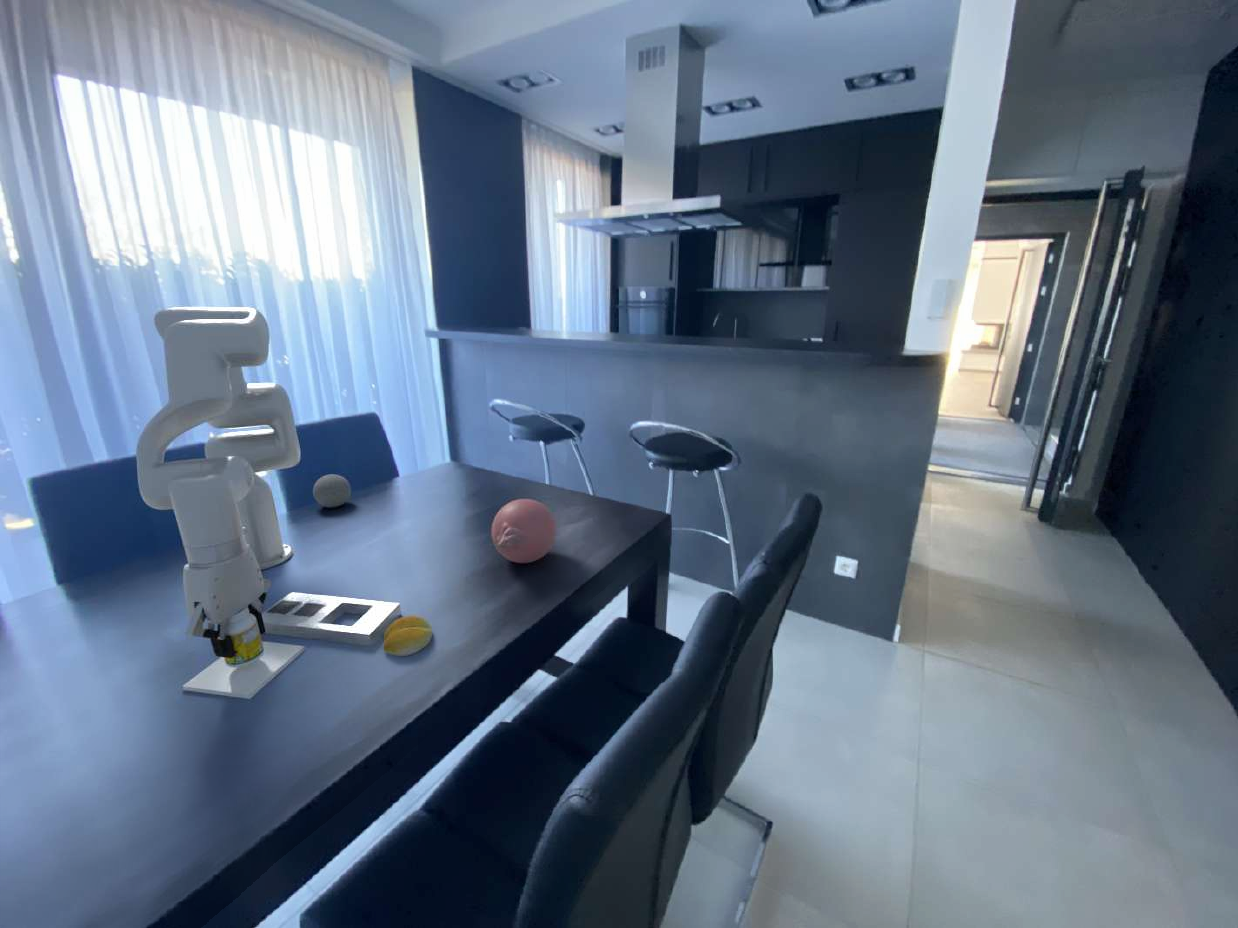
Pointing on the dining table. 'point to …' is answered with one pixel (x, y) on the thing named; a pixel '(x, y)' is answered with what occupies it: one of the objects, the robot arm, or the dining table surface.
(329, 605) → the grey board with squares
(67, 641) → the dining table surface
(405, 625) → the bread roll
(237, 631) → the supplement bottle
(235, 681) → the plate
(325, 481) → the decorative ball
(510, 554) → the balloon
